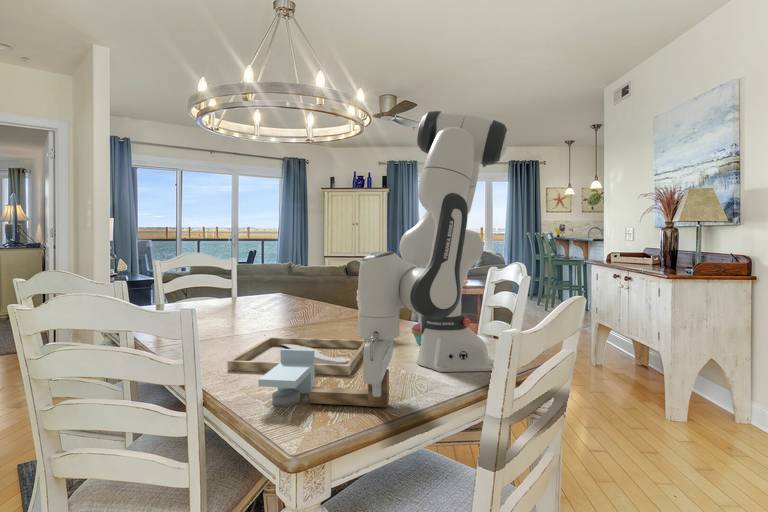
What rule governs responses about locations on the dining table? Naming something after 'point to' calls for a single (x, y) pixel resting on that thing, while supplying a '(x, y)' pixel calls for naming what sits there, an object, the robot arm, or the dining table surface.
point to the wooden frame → (335, 369)
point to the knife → (320, 356)
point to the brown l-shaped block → (351, 395)
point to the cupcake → (417, 332)
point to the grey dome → (286, 397)
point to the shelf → (292, 371)
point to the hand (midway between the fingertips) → (378, 391)
